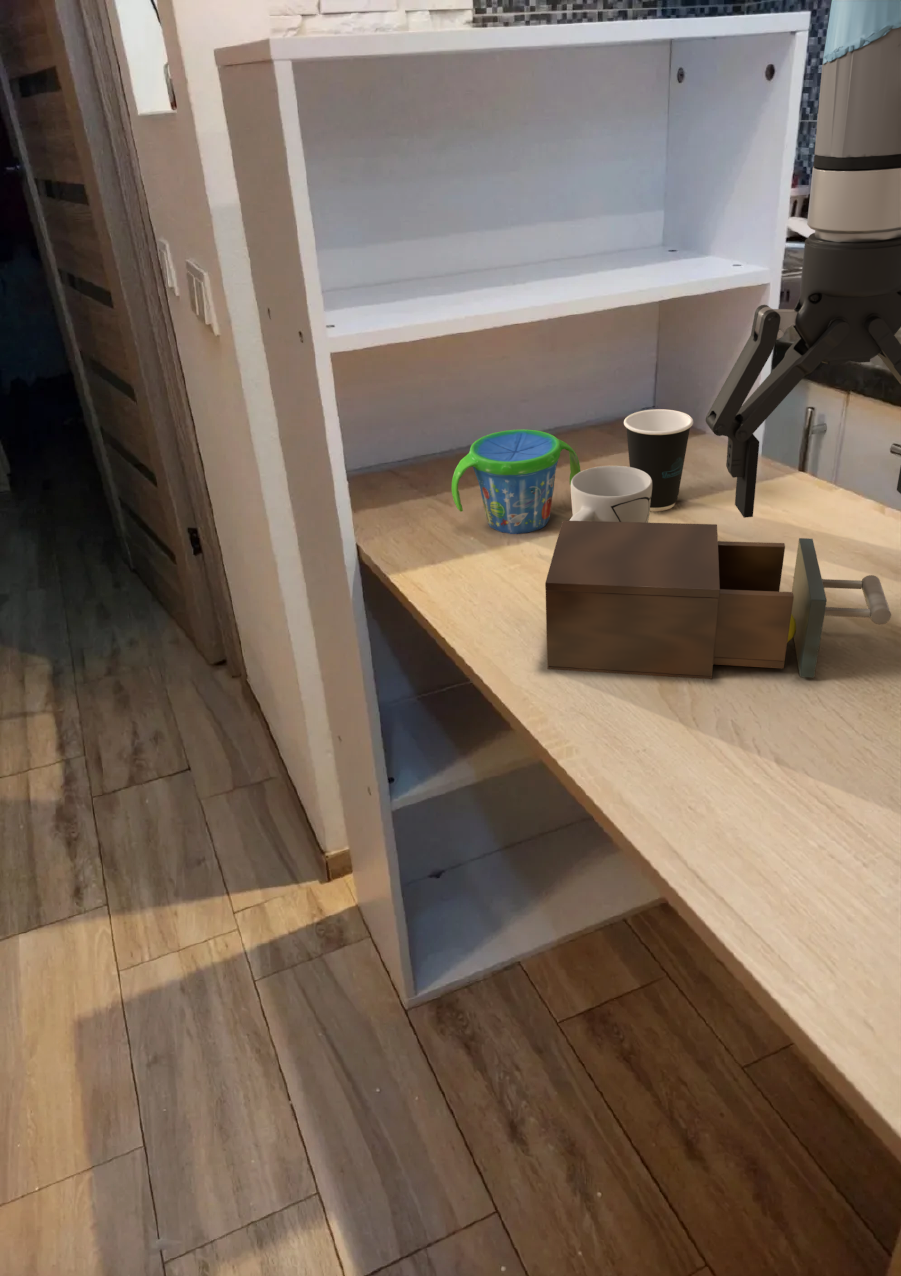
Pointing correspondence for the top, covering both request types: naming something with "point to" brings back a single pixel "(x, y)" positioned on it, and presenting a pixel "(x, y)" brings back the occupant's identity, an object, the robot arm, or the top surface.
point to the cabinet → (633, 598)
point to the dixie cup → (659, 451)
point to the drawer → (779, 605)
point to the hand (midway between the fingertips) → (825, 503)
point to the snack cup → (515, 477)
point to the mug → (611, 494)
